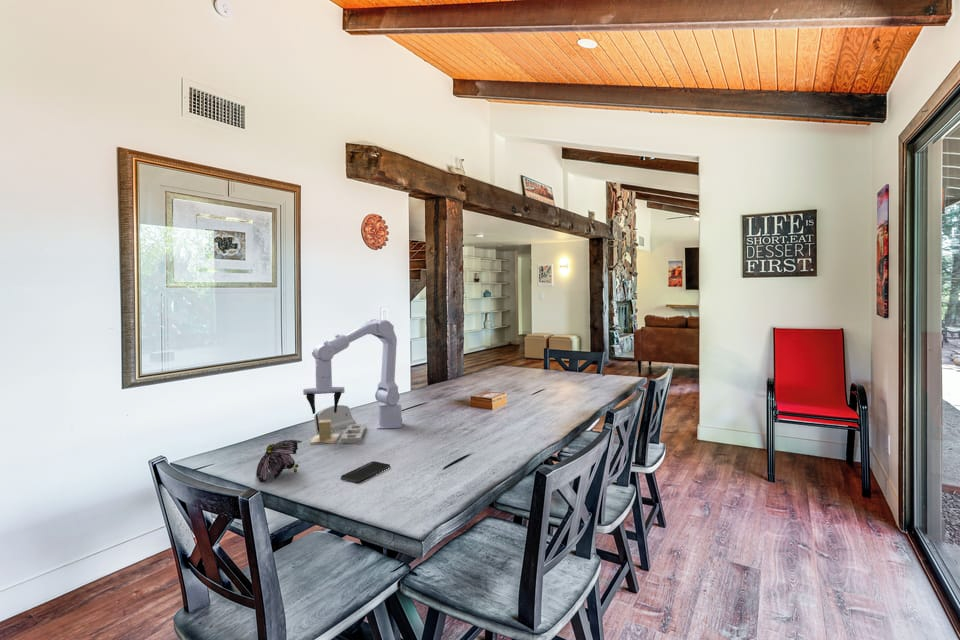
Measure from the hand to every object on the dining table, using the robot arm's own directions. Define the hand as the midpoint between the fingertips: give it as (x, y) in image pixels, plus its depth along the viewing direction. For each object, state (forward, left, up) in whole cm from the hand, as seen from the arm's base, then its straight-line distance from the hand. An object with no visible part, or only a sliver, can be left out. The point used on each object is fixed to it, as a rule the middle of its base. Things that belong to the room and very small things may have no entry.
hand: (324, 412), depth 185 cm
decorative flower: (+7, +34, -11) cm, 36 cm away
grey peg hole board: (-10, -3, -10) cm, 15 cm away
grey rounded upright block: (0, -16, -11) cm, 20 cm away
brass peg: (0, 0, -10) cm, 10 cm away
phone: (-19, +36, -11) cm, 42 cm away
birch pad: (0, 0, -10) cm, 10 cm away
